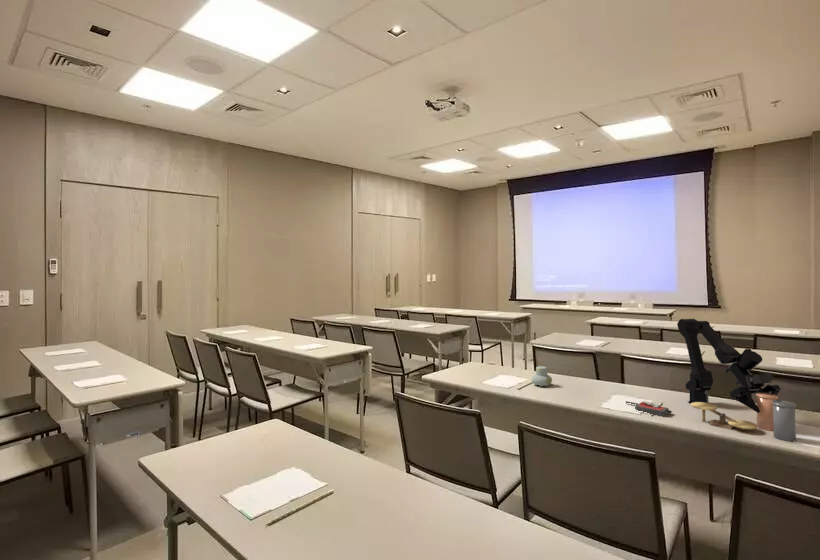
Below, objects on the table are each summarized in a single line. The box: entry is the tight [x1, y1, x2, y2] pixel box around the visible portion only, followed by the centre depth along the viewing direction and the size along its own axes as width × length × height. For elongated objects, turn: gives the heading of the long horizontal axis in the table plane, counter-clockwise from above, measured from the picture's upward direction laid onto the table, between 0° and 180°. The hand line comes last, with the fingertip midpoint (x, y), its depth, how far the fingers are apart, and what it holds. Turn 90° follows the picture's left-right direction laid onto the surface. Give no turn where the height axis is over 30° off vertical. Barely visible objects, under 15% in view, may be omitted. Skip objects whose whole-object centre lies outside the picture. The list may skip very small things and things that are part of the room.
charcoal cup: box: [772, 399, 797, 442], centre depth 162 cm, size 7×7×13 cm
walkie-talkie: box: [625, 400, 673, 418], centre depth 197 cm, size 9×4×20 cm
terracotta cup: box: [755, 392, 779, 432], centre depth 172 cm, size 7×7×13 cm
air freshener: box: [531, 365, 553, 387], centre depth 243 cm, size 11×8×10 cm
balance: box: [690, 402, 758, 431], centre depth 176 cm, size 22×9×7 cm, turn 39°
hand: (769, 411), depth 171 cm, fingers open, 9 cm apart
